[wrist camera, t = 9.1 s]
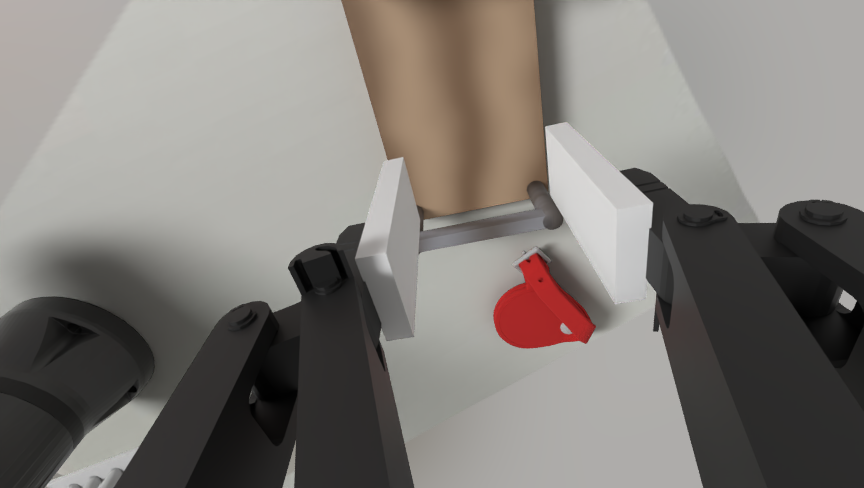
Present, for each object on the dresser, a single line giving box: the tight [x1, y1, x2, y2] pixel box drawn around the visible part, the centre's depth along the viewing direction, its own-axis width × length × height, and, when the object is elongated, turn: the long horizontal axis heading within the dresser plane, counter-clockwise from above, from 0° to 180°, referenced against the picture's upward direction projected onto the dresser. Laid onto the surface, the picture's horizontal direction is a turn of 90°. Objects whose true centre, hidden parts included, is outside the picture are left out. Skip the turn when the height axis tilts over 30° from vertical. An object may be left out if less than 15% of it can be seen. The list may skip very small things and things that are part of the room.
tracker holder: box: [493, 247, 596, 348], centre depth 40 cm, size 12×4×10 cm
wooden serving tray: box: [341, 0, 563, 254], centre depth 27 cm, size 12×19×8 cm, turn 13°
